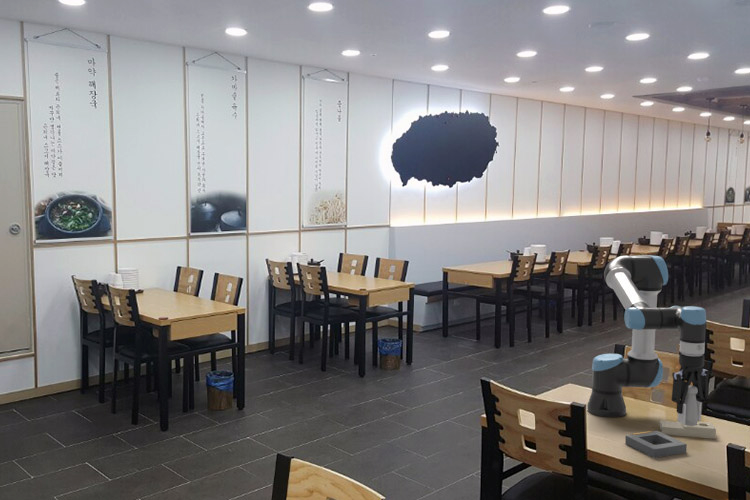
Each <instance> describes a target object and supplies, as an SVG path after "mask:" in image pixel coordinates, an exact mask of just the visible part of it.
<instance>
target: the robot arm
mask: <svg viewBox="0 0 750 500" xmlns="http://www.w3.org/2000/svg"><path fill="white" fill-rule="evenodd" d="M603 277H604V282H605V283H606V285H607V286H608V287H609V288H610V289H612V290H613V291H614V293H615V295H616V297H617V298H618V299H619V301H620V303H621V305H622V306H623V308H624V309H625V311H624V314H623V315H624V318H623V319H624V323H625V325H624V326H626V328H628V329H629V330H632V333H631V334H632V335H631V349H630V350H629V351H628V352H627V353H626V355H627V356H626V357H625V358H624V357H623V355H622V354H619V353H603V354H599V355H597V356H595V357H594V358H593V359H592V365H591V370H592V375H591V376H592V378H591V381H592V383H591V393H590V397H589V400H588V403H586V404H587V406H586V409H588V410H587V412H589V413H590V414H592V413H593V415H595V414H596V415H595V416H601V417H605V418H606V417H607V418H618V417H623V416H626V414H627V407H626V403H625V400H624V397H623V388H647V389H648V388H655V387H657V386H659V385H660V384H661V381H662V379H663V376H664V368H663V367H664V366H663V362H662V360H661V359H660V358H659V355H658V354H657V353H656V352H655V345H656V344H655V343H656V330H661V331H665V330H670V331H671V330H676V331H679V355H678V363H679V367H680V368H679V370H678V371H677V372H672V374H671V375H672V376H671V377H672V389H671V391H672V392H671V402H674V403H675V404H676V413H677V421H676V422H680V423H682V424H685V419H686V404H684V402H685V398H686V395H687V391H688V387H689V385H691V383H692V386H695V387H697V389H698V393H697V394H696V401H697V408H698V415H699V420H698V422H702V411H703V409H704V408H703V407H704V406H703V405H704V404H703V403H706V402H707V401H706V400H708V399H709V377H710V376H709V375H710V370H707V369H704V368H703V367H705V355H704V354H705V351H706V350H705V347H706V346H705V345H706V328H707V325H706V324H707V312H706V311H707V310H706V309H705V308H703V307H700V306H692V305H689V306H688V305H687V306H686V305H685V306H680V305H673V306H671V307H657V305H658V294H659V293H660V292H661V291H662V288H663V286H665V285H667V283H668V281H669V270H668V266H667V263H666V262H665V260H664V258H663V257H662V256H660V255H659V256H658V255H650V254H647V255H620V256H617V257H615V258H613V259H611V260H610V261H609V262H608V263H607V264H606V267H605V269H604V272H603Z"/></svg>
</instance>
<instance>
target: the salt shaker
mask: <svg viewBox="0 0 750 500" xmlns="http://www.w3.org/2000/svg"><path fill="white" fill-rule="evenodd" d="M697 393H698V389H697V387H695V386H693V384H692V385H689V387H688V391H687V395H686V398H685V402H684V404H686V419H685V424H684V425H687V426H695V425H696V424H697V422H699V421H698V420H699V415H698V408H697V401H696V394H697Z"/></svg>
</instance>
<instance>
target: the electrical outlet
mask: <svg viewBox="0 0 750 500" xmlns="http://www.w3.org/2000/svg"><path fill="white" fill-rule="evenodd" d="M659 428H660V429H659V430H660V432H661V433H663V434H665V435H668V436H680V437H681V436H682V437H692V438H704V439H712V438H713V439H714V438H717V430H716V429H717V428H716V427H715V425H714V424H713V422H708V421H704V422H703V421H698V422H697V424H696V425H695V426H687V425H684V424H682V423H680V422H678V421H669V420H660V422H659Z"/></svg>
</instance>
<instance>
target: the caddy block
mask: <svg viewBox="0 0 750 500" xmlns="http://www.w3.org/2000/svg"><path fill="white" fill-rule="evenodd" d="M625 445H628V446H629V447H631V448H633V449H635V450H637V451H639V452H640V453H643V454H645V455H647V456H648V457H651V458H653V459H654V458H655V459H656V458H657V459H658V458H662V457H668V456H674V455H675V456H676V455H681V454H685V453H687V447H688V446H687V445H688V443H686V442H683V441H680V440H679V439H676V438H675V437H672V436H671V435H666V434H663V433H662V432H661V431H658V430H654V431H651V430H650V431H642V432H636V433H635V432H634V433H632V434H628V435H627V434H626V435H625Z"/></svg>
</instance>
